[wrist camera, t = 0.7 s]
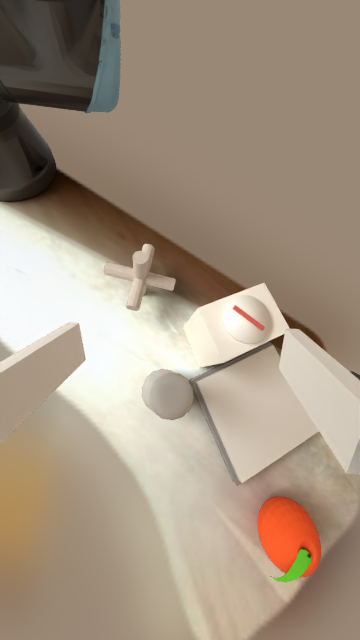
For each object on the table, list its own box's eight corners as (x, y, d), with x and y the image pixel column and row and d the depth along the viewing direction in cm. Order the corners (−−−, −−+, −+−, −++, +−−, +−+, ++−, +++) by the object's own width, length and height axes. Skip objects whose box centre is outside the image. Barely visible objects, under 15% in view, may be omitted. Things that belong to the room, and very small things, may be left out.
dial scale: (169, 333, 34) (180, 312, 23) (244, 302, 37) (283, 273, 27) (232, 480, 29) (281, 535, 19) (310, 428, 33) (386, 451, 23)
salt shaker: (187, 385, 32) (215, 389, 20) (165, 419, 30) (180, 446, 18) (157, 362, 32) (166, 351, 20) (133, 394, 30) (126, 404, 18)
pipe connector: (175, 272, 37) (186, 235, 27) (164, 325, 34) (172, 304, 24) (119, 258, 36) (110, 214, 26) (102, 311, 33) (85, 283, 23)
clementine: (269, 568, 27) (310, 630, 20) (232, 524, 28) (261, 571, 21) (302, 513, 30) (349, 553, 23) (268, 474, 30) (303, 502, 24)
